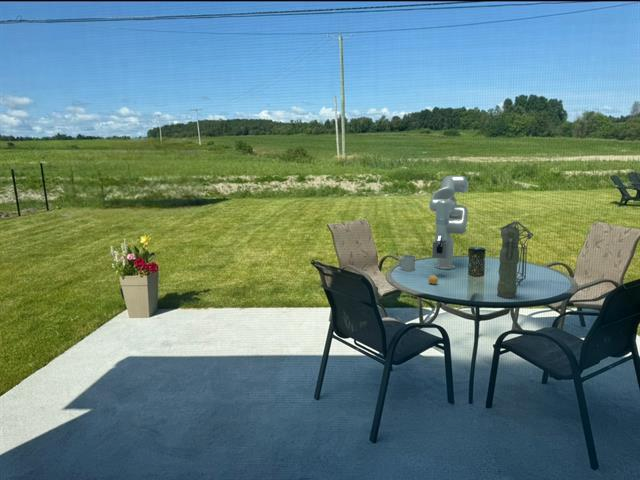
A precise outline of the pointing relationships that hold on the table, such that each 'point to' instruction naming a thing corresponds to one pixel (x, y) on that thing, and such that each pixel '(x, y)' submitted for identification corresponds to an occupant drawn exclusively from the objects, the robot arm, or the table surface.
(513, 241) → the tall grey column
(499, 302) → the table surface
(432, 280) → the ball
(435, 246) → the trap cup
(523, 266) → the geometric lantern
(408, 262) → the cup
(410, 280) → the table surface
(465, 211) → the robot arm
